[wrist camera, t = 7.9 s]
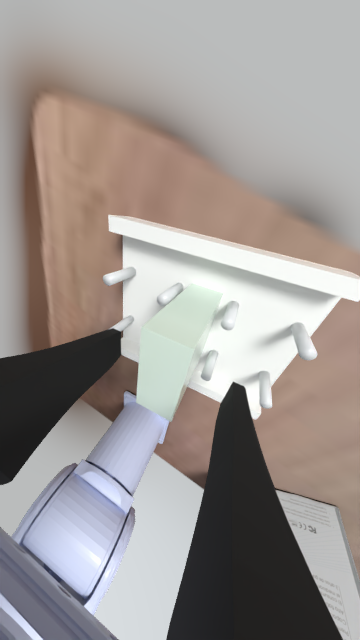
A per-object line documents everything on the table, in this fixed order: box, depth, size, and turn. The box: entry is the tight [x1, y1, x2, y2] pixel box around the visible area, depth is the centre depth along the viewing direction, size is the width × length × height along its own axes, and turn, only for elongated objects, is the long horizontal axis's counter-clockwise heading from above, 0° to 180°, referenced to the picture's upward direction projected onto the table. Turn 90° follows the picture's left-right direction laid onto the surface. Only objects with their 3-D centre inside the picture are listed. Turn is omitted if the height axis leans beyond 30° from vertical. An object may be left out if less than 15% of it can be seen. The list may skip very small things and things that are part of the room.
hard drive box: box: [276, 490, 360, 640], centre depth 17 cm, size 16×8×20 cm, turn 113°
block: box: [136, 283, 223, 422], centre depth 12 cm, size 6×2×7 cm, turn 168°
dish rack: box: [103, 215, 360, 419], centre depth 14 cm, size 13×16×4 cm
